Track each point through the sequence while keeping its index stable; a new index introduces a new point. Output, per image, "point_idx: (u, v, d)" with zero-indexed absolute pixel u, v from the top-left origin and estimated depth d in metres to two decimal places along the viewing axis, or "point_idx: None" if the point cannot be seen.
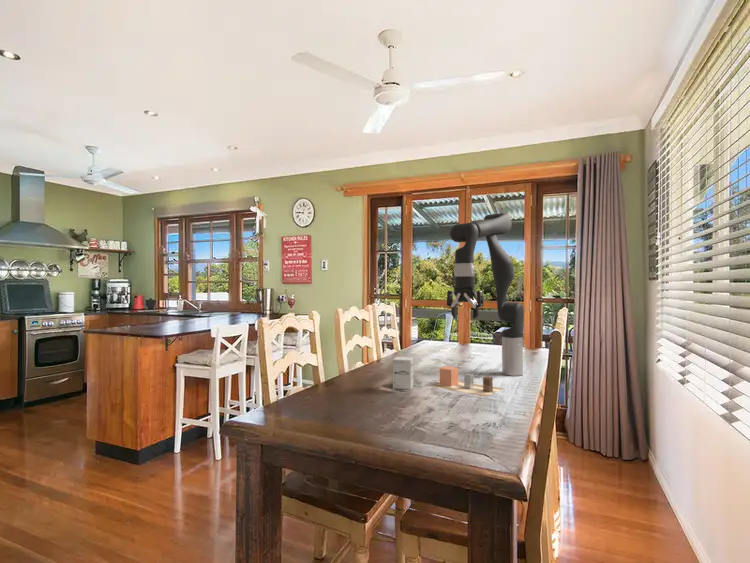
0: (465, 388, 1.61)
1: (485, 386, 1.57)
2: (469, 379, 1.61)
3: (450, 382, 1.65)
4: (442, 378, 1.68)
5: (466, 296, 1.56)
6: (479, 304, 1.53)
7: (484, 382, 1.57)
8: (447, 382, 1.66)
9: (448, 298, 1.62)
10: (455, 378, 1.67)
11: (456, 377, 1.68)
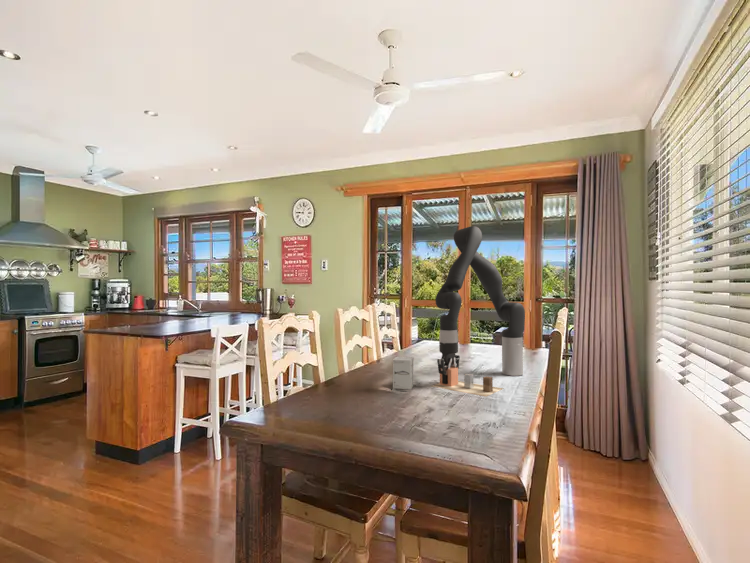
0: (465, 388, 1.61)
1: (485, 386, 1.57)
2: (469, 379, 1.61)
3: (450, 382, 1.65)
4: None
5: (454, 360, 1.69)
6: (458, 367, 1.72)
7: (484, 382, 1.57)
8: None
9: (444, 367, 1.64)
10: (455, 378, 1.67)
11: (456, 377, 1.68)
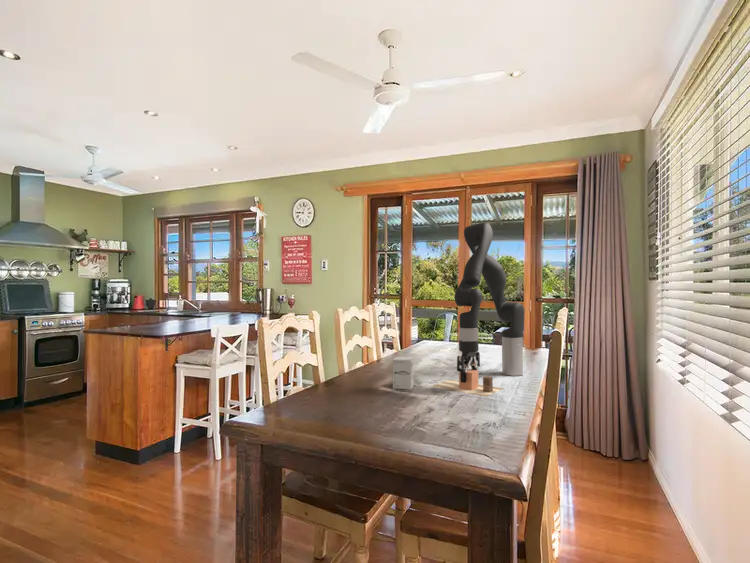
0: None
1: (485, 386, 1.57)
2: None
3: (471, 385, 1.59)
4: None
5: (475, 359, 1.63)
6: (479, 364, 1.67)
7: (484, 382, 1.57)
8: (467, 385, 1.60)
9: (463, 364, 1.57)
10: (475, 381, 1.61)
11: (476, 380, 1.62)
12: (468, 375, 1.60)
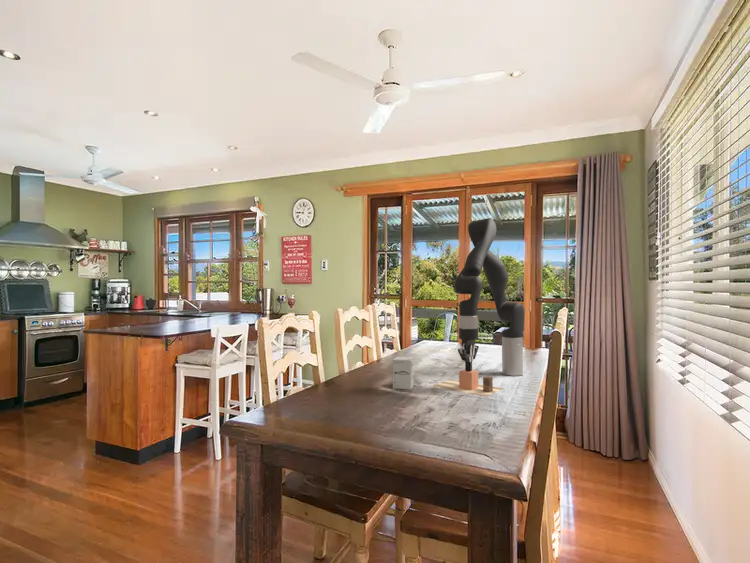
0: None
1: (485, 386, 1.57)
2: None
3: (471, 385, 1.59)
4: (462, 381, 1.62)
5: (474, 347, 1.62)
6: (474, 356, 1.64)
7: (484, 382, 1.57)
8: (467, 385, 1.60)
9: (466, 355, 1.59)
10: (475, 381, 1.61)
11: (476, 380, 1.62)
12: (468, 375, 1.60)
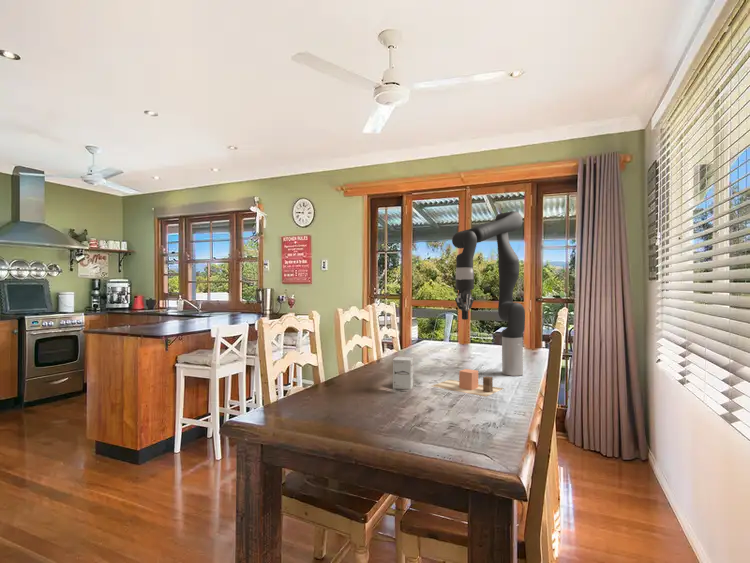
0: None
1: (485, 386, 1.57)
2: None
3: (471, 385, 1.59)
4: (462, 381, 1.62)
5: (470, 297, 1.75)
6: (470, 306, 1.76)
7: (484, 382, 1.57)
8: (467, 385, 1.60)
9: (462, 303, 1.71)
10: (475, 381, 1.61)
11: (476, 380, 1.62)
12: (468, 375, 1.60)
